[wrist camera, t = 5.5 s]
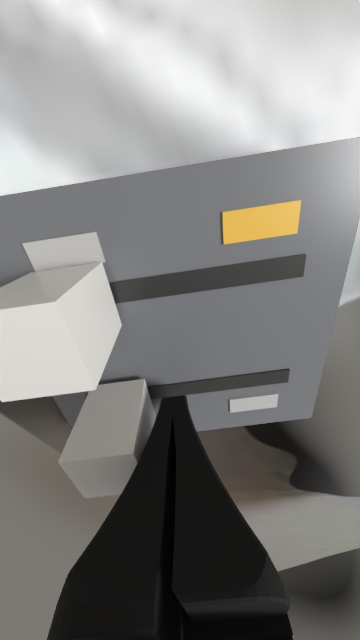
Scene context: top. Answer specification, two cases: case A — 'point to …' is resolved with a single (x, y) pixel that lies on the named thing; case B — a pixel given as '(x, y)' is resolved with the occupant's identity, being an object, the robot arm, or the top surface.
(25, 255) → the switch panel
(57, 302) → the outer tab
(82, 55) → the top surface
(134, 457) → the inner tab
